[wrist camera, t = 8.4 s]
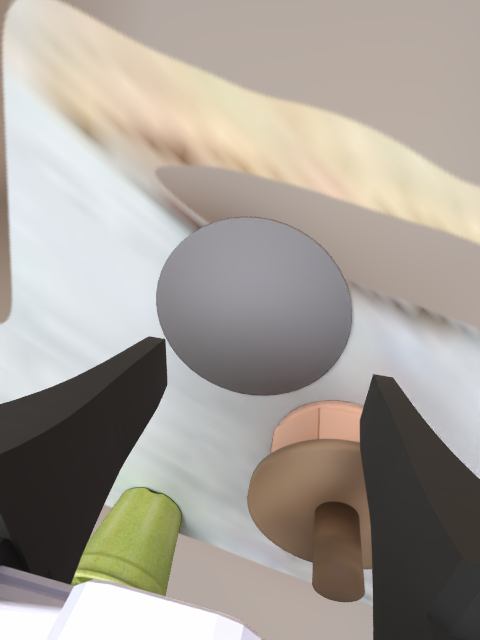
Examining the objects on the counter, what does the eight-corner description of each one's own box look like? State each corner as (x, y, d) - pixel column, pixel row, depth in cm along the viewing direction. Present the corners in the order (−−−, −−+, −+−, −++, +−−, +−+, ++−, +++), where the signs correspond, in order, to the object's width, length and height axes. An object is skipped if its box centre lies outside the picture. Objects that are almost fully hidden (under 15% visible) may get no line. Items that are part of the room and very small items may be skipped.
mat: (372, 230, 19) (374, 232, 19) (331, 404, 25) (331, 410, 25) (154, 205, 21) (150, 207, 21) (163, 374, 27) (160, 378, 27)
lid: (459, 459, 20) (493, 550, 16) (408, 572, 25) (423, 662, 21) (253, 424, 21) (235, 498, 17) (246, 536, 27) (231, 613, 23)
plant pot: (157, 462, 32) (106, 567, 25) (218, 529, 35) (188, 641, 28) (87, 485, 36) (24, 582, 29) (147, 544, 39) (104, 646, 32)
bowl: (418, 414, 24) (435, 471, 20) (383, 501, 29) (392, 561, 25) (280, 389, 26) (272, 439, 22) (267, 476, 30) (258, 529, 26)
